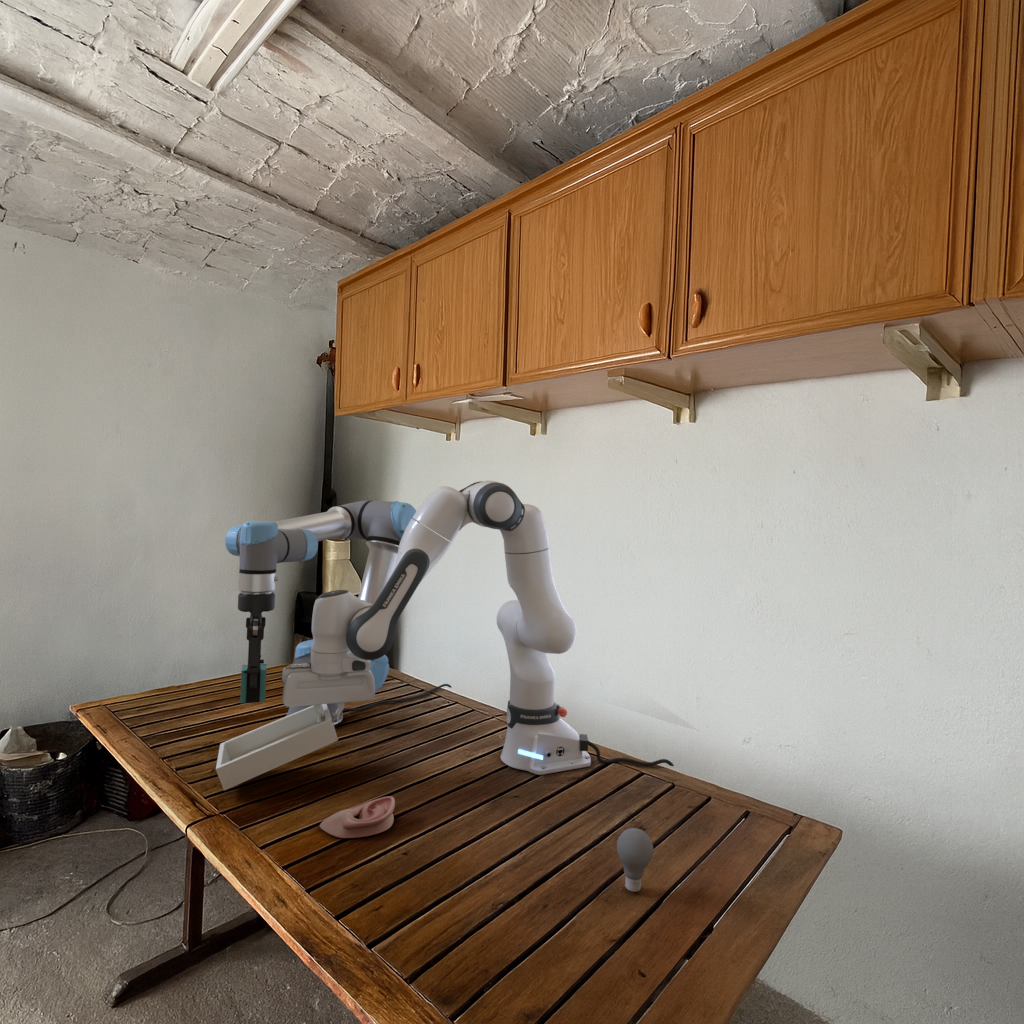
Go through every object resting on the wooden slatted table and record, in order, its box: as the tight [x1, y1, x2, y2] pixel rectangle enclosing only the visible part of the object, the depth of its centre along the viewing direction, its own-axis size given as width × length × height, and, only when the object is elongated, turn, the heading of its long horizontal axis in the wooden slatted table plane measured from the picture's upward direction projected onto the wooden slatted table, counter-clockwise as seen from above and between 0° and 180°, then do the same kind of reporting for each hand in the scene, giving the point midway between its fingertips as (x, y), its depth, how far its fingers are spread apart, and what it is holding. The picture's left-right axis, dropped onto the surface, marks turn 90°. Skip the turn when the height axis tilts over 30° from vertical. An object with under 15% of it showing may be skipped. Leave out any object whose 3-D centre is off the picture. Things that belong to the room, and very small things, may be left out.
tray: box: [215, 704, 339, 791], centre depth 141 cm, size 24×14×5 cm, turn 111°
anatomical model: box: [319, 795, 396, 839], centre depth 123 cm, size 13×4×12 cm
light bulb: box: [616, 827, 654, 893], centre depth 106 cm, size 6×6×10 cm
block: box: [239, 663, 267, 704], centre depth 138 cm, size 5×5×7 cm
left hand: (252, 697), depth 138 cm, fingers closed on block, 5 cm apart
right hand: (328, 721), depth 144 cm, fingers closed on tray
